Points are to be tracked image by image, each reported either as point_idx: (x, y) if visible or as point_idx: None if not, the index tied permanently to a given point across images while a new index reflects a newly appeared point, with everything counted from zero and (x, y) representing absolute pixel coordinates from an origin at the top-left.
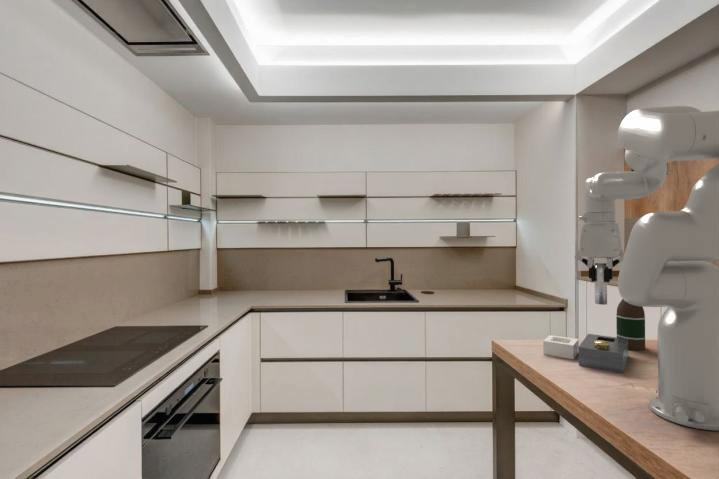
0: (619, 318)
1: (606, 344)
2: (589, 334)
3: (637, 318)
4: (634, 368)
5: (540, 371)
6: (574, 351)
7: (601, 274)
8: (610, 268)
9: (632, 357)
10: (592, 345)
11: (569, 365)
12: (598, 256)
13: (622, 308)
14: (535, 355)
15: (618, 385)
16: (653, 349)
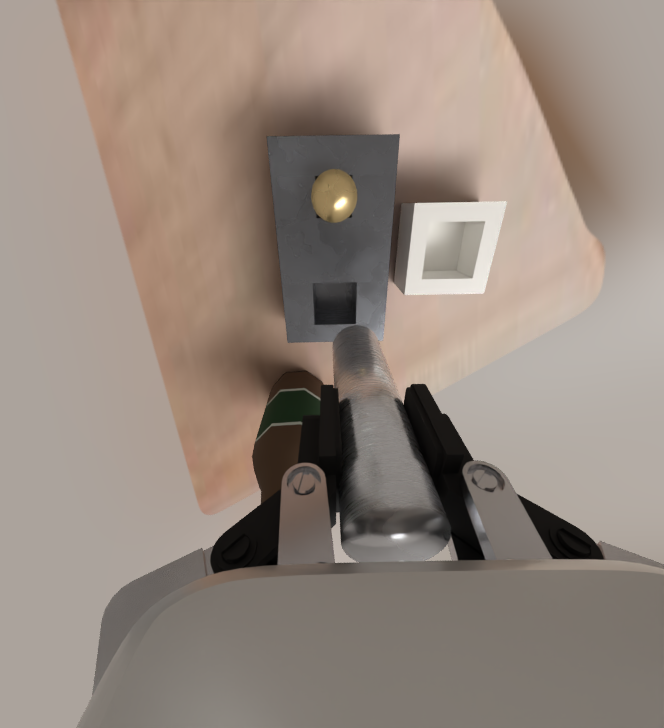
0: None
1: (318, 176)
2: (379, 334)
3: (269, 428)
4: (270, 255)
5: (490, 18)
6: (406, 221)
7: (369, 420)
8: (302, 465)
9: None
10: (360, 194)
11: (409, 167)
12: (450, 574)
13: None
14: None
15: (274, 44)
16: None
